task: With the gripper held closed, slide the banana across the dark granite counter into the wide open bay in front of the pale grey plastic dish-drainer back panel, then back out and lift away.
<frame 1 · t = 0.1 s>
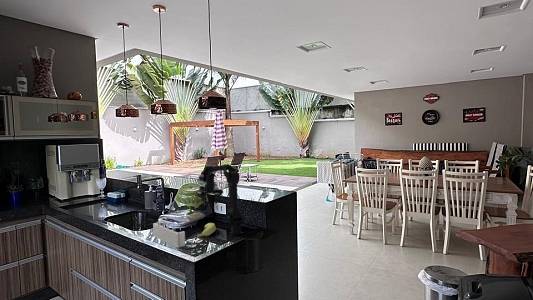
hand: (210, 204, 207), 15 cm above the countertop, fingers open, 9 cm apart
banana: (205, 233, 191), on the countertop
rack: (175, 238, 179), on the countertop
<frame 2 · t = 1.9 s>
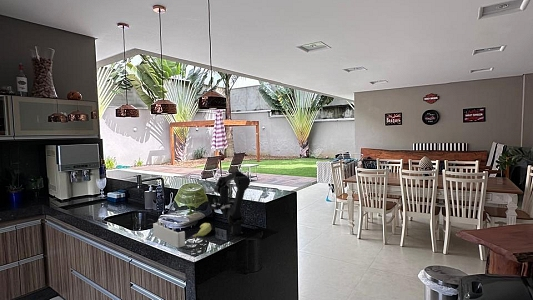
hand: (224, 217, 201), 7 cm above the countertop, fingers closed
banana: (201, 233, 190), on the countertop
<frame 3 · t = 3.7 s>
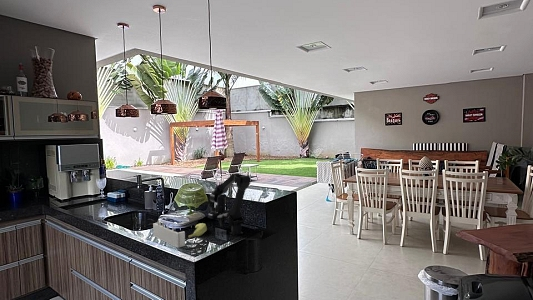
hand: (221, 226, 199), 1 cm above the countertop, fingers closed
banana: (196, 233, 190), on the countertop
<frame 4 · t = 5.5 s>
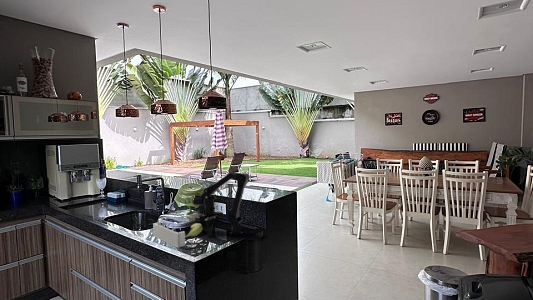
hand: (209, 229, 193), 2 cm above the countertop, fingers closed
banana: (192, 234, 190), on the countertop
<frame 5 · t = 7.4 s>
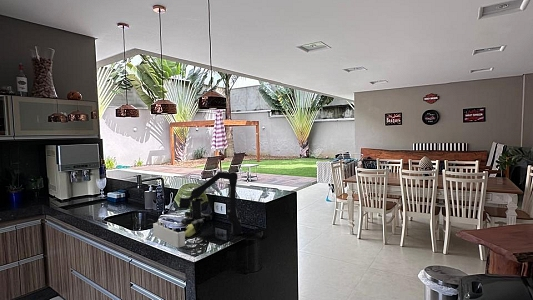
hand: (196, 232, 185), 2 cm above the countertop, fingers closed
banana: (187, 234, 189), on the countertop, touching gripper
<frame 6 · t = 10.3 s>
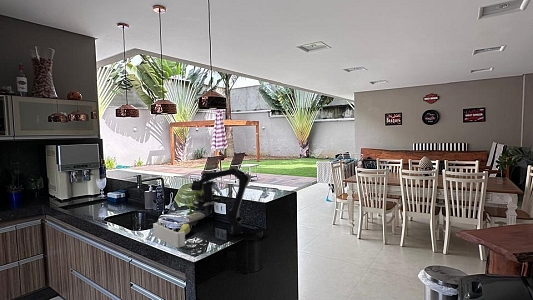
hand: (208, 215, 191), 11 cm above the countertop, fingers closed
banana: (179, 234, 189), on the countertop
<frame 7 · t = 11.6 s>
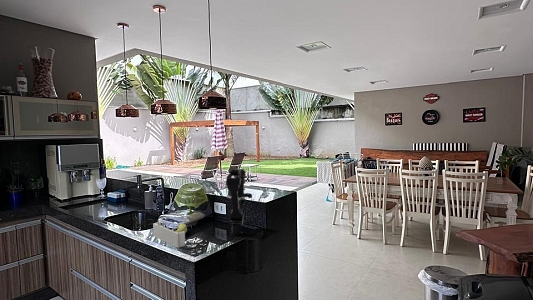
hand: (239, 209, 203), 12 cm above the countertop, fingers closed
banana: (176, 234, 188), on the countertop
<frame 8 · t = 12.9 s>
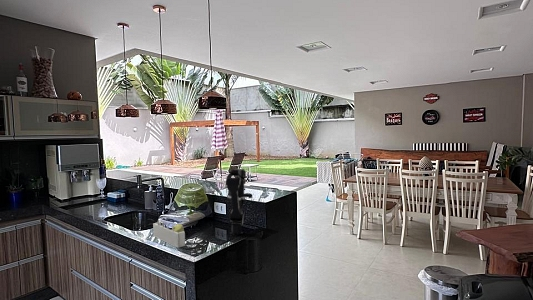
hand: (240, 209, 203), 12 cm above the countertop, fingers closed
banana: (173, 235, 188), on the countertop
at the end: banana inside the target area on the rack (10.4 cm from its centre), point -0.5 cm above the rack's base; banana moved 20.9 cm from its start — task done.
